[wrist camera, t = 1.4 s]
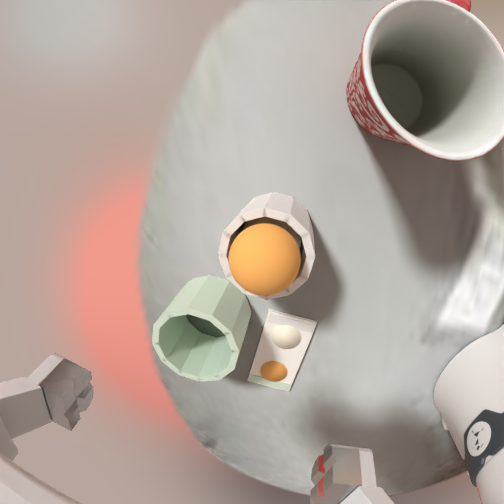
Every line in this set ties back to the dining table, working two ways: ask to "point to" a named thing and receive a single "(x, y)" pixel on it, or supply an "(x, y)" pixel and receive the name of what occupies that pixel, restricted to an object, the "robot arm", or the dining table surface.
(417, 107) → the mug
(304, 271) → the tube grey
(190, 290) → the tube green
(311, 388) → the dining table surface
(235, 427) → the dining table surface
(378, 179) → the dining table surface
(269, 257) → the ball orange
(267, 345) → the card
